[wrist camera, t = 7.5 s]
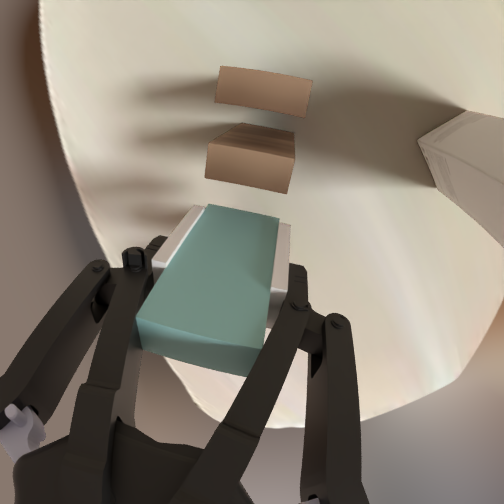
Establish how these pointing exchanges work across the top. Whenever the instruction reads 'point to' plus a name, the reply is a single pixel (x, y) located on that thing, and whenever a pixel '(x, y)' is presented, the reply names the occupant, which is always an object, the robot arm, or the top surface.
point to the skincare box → (470, 166)
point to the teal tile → (214, 293)
